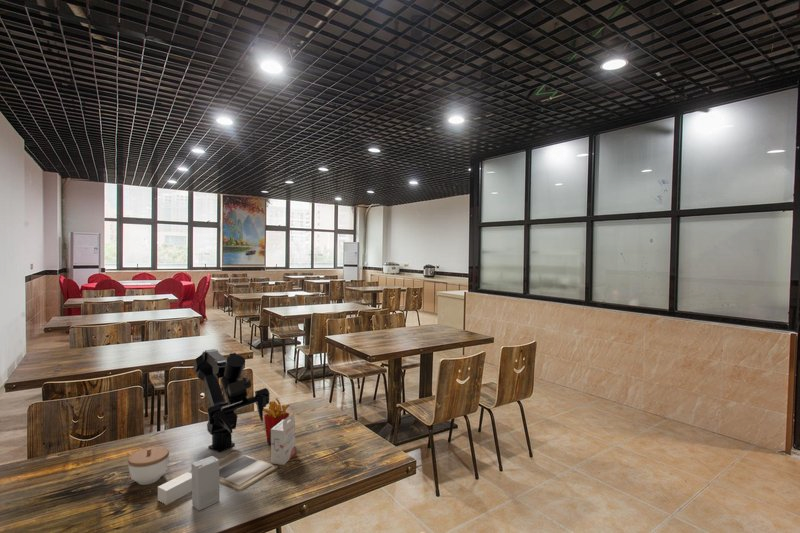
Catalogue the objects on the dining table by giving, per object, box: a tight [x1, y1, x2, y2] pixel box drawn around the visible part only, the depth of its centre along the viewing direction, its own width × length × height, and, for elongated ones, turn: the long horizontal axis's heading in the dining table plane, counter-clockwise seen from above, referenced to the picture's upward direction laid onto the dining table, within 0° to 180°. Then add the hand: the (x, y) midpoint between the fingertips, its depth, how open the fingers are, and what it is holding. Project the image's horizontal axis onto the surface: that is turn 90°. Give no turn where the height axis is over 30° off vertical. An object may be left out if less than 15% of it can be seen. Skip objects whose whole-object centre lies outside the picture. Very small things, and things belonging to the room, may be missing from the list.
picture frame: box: [218, 450, 279, 492], centre depth 132 cm, size 20×15×1 cm
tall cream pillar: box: [157, 469, 192, 506], centre depth 120 cm, size 4×12×4 cm, turn 151°
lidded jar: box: [127, 446, 170, 486], centre depth 126 cm, size 11×11×9 cm
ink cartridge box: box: [270, 412, 296, 466], centre depth 139 cm, size 9×5×15 cm, turn 168°
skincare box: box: [191, 455, 221, 511], centre depth 114 cm, size 6×4×12 cm
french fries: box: [263, 397, 291, 443], centre depth 153 cm, size 9×8×15 cm
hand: (247, 426), depth 127 cm, fingers open, 9 cm apart
